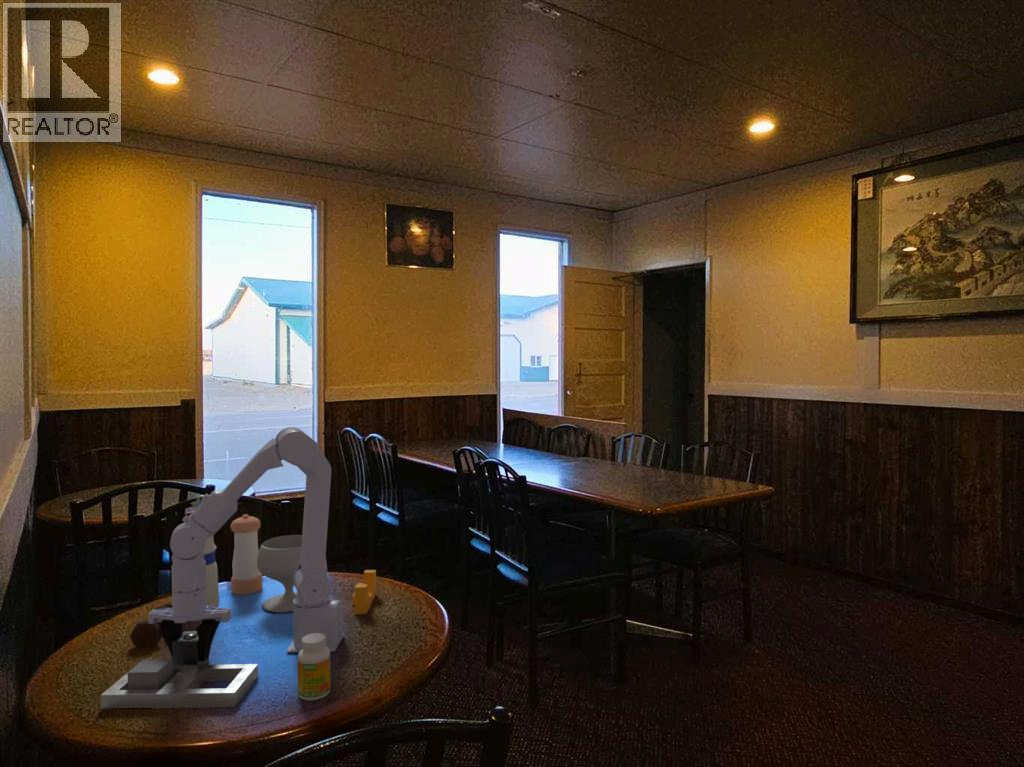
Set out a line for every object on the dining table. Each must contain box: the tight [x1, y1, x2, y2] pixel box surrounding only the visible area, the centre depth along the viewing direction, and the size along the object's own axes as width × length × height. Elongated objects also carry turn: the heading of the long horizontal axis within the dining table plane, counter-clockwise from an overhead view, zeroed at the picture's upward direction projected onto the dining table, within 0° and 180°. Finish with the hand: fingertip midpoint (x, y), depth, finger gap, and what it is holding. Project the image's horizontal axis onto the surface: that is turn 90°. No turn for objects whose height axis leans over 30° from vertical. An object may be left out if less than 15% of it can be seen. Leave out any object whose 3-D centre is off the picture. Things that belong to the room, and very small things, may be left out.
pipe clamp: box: [351, 569, 377, 615], centre depth 148 cm, size 12×4×6 cm, turn 2°
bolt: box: [129, 603, 173, 649], centre depth 134 cm, size 6×5×15 cm
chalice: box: [257, 534, 302, 613], centre depth 149 cm, size 14×14×15 cm
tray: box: [100, 663, 259, 710], centre depth 109 cm, size 22×10×2 cm, turn 91°
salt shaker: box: [230, 513, 263, 596], centre depth 158 cm, size 7×7×19 cm
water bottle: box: [190, 497, 221, 607], centre depth 148 cm, size 8×9×25 cm
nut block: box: [172, 630, 210, 665], centre depth 118 cm, size 4×4×6 cm
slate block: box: [127, 657, 173, 690], centre depth 109 cm, size 5×5×5 cm
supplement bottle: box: [297, 633, 332, 701], centre depth 108 cm, size 5×5×10 cm
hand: (191, 659), depth 118 cm, fingers closed on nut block, 4 cm apart
